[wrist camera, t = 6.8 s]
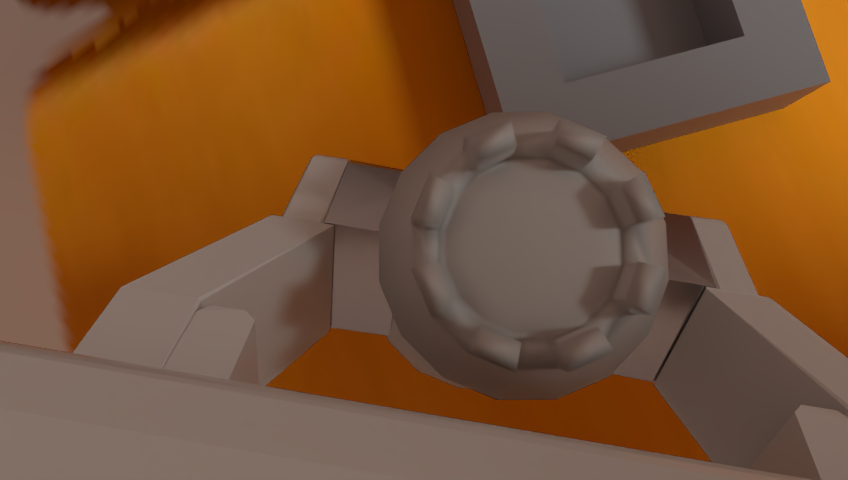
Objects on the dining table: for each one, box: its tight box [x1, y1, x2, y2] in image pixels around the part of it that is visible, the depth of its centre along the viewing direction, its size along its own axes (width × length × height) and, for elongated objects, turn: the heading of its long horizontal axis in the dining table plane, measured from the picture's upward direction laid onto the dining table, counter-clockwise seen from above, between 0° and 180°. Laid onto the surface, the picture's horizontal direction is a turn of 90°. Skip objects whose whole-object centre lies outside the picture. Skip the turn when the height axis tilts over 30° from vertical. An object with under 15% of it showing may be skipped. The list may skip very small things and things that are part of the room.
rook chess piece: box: [379, 112, 669, 400], centre depth 10 cm, size 4×4×8 cm
